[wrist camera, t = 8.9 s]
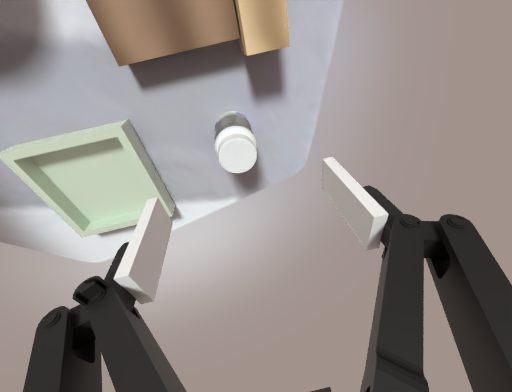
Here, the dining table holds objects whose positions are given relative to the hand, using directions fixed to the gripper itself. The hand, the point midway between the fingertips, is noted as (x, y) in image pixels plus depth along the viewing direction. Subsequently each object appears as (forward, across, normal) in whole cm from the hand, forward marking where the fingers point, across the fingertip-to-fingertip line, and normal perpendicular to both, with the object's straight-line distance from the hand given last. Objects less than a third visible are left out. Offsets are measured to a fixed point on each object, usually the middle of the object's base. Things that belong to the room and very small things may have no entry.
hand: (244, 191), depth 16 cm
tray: (+15, -19, -3) cm, 24 cm away
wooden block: (+15, +5, +11) cm, 19 cm away
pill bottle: (+15, 0, 0) cm, 15 cm away
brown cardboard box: (+15, -3, +13) cm, 20 cm away
